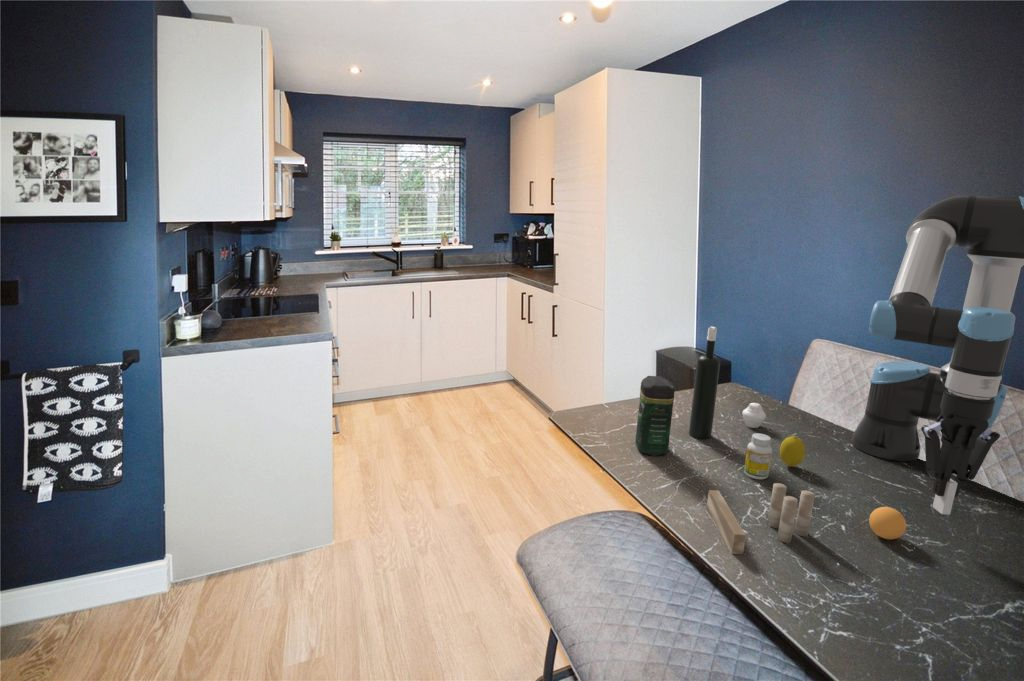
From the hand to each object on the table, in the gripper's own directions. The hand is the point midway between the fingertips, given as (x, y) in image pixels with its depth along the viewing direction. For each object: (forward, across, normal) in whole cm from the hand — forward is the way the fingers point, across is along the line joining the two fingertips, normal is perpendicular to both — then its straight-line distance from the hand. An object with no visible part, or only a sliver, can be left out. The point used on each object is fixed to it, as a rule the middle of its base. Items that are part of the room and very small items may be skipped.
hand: (941, 510), depth 112 cm
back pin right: (+7, -30, +3) cm, 30 cm away
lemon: (+6, -15, +29) cm, 34 cm away
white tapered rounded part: (+6, -15, +54) cm, 57 cm away
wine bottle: (+6, -32, +46) cm, 57 cm away
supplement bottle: (+7, -25, +24) cm, 36 cm away
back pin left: (+7, -30, -2) cm, 30 cm away
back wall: (+7, -40, 0) cm, 41 cm away
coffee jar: (+7, -47, +36) cm, 60 cm away
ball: (+3, -9, 0) cm, 10 cm away
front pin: (+7, -25, 0) cm, 26 cm away
